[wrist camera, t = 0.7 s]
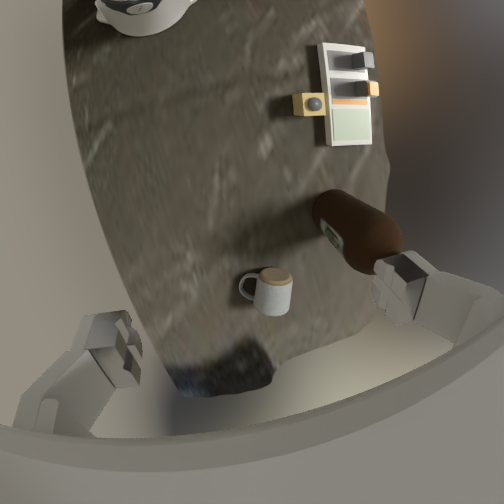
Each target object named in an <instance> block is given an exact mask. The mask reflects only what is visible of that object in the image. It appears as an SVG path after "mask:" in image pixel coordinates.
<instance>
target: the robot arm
mask: <svg viewBox="0 0 504 504" xmlns="http://www.w3.org/2000/svg"><path fill="white" fill-rule="evenodd" d="M196 1H197V0H97V1H95V5H96V7H97V8H98V10H97V15H96V18H97V20H98V21H99V22H102V23H106V24H110V25H112V26H113V27H114V28H115V29H116V30H118V31H119V32H121V33H123V34H126V35H130V36H148V35H153V34H156V33H159V32H161V31H163V30H165V29H167V28H169V27H170V26H172V25H173V24H175V23H176V22H177V21H178V20H179V19H180V18H181V17H182V16H183V14H184V13H185V11H186V10H187V8H188V7H189V6H190V5H191V4H193V3H194V2H196ZM374 272H375V274H376V276H375V278H374V279H373V281H372V285H371V293H372V298H373V300H374V302H375V303H376V304H377V306H378V307H380V308H383V309H385V315H386V317H387V318H388V319H389V320H390V321H391V323H392V324H393V325H394V326H395V327H396V326H399V325H401V324H405V323H407V322H410V321H412V320H414V322H416V323H418V324H420V325H422V326H423V327H425V328H427V329H429V330H431V331H433V332H434V333H436V334H438V335H440V336H442V337H444V338H445V339H447V340H449V341H451V342H453V343H455V344H454V346H453V348H452V350H450V351H448V352H447V353H445V354H443V355H441V356H439V357H438V358H436V359H434V360H432V361H430V362H428V363H426V364H424V365H422V366H421V367H418V368H416V369H414V370H412V371H410V372H408V373H406V374H404V375H402V376H400V377H398V378H395V379H393V380H391V381H389V382H386V383H384V384H382V385H379V386H377V387H375V388H372V389H370V390H367V391H365V392H362V393H359V394H357V395H354V396H351V397H349V398H346V399H343V400H341V401H337V402H335V403H331V404H329V405H325V406H322V407H319V408H316V409H313V410H309V411H306V412H303V413H299V414H295V415H292V416H288V417H285V418H280V419H277V420H272V421H268V422H263V423H259V424H254V425H249V426H244V427H239V428H233V429H227V430H221V431H214V432H208V433H200V434H192V435H181V436H170V437H156V438H155V437H154V438H97V437H95V436H94V435H93V434H92V433H91V432H89V430H90V429H91V427H92V426H93V424H94V422H95V421H96V419H97V418H98V416H99V415H100V413H101V411H102V410H103V408H104V407H105V405H106V404H107V402H108V401H109V399H110V398H111V396H112V395H113V393H114V392H115V390H116V389H115V388H125V387H135V386H139V385H140V374H141V369H140V367H139V365H138V362H139V361H140V360H141V359H142V352H143V351H142V343H141V339H140V336H139V334H138V332H137V330H135V329H134V328H132V327H131V322H132V319H131V317H130V315H129V313H128V312H127V311H126V310H121V311H113V312H106V313H98V314H91V315H85V316H83V317H82V319H81V321H80V324H79V327H78V329H77V332H76V335H75V337H74V340H73V343H72V346H71V349H70V351H66V352H65V353H64V354H63V355H62V356H61V357H60V358H58V359H57V360H56V361H55V362H54V363H53V364H52V365H51V366H50V367H49V368H48V369H47V370H46V371H45V372H44V373H43V374H42V375H41V376H40V377H39V378H38V379H37V380H36V381H35V382H34V383H33V384H32V385H31V386H30V387H29V388H28V389H27V390H26V391H25V392H24V393H23V394H22V396H21V399H20V402H19V405H18V408H17V412H16V415H15V419H14V422H13V426H12V427H10V426H5V425H1V424H0V504H504V296H503V295H502V294H501V293H499V292H498V291H497V290H496V289H495V288H492V287H489V286H486V285H483V284H480V283H477V282H474V281H471V280H468V279H465V278H462V277H459V276H456V275H453V274H450V273H446V272H439V271H438V270H437V269H436V268H434V267H433V266H432V265H431V264H429V263H428V262H427V261H426V260H425V259H423V258H422V257H421V256H420V255H418V254H417V253H416V252H415V251H407V252H403V253H400V254H398V255H394V256H390V257H386V258H382V259H378V260H377V261H376V263H375V265H374Z"/></svg>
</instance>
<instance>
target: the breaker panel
mask: <svg viewBox="0 0 504 504" xmlns="http://www.w3.org/2000/svg"><path fill="white" fill-rule="evenodd" d="M317 50H318V58H319V66H320V75H321V84H322V93H324V98H325V110H326V115H324V119H325V133H326V144H327V145H330V146H341V145H360V144H372V133H371V109H370V97H356V91H355V81H365V80H368V72H367V69H365V70H359V69H353V61H352V54H355V53H359V52H365V47H359V46H351V45H343V44H333V43H321V44H318V45H317Z"/></svg>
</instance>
